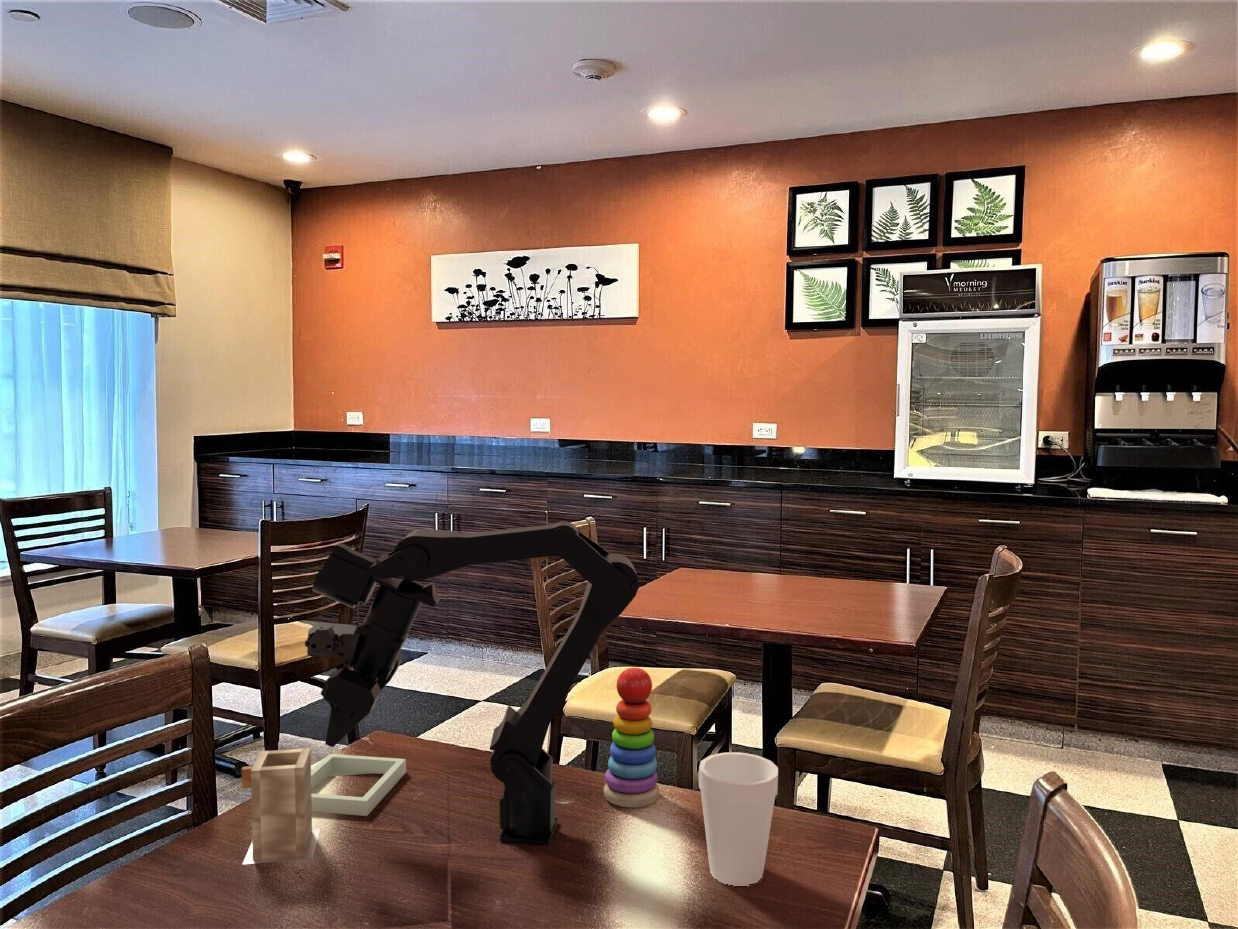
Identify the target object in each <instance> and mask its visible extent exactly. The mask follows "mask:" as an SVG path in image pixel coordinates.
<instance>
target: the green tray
mask: <svg viewBox="0 0 1238 929" xmlns="http://www.w3.org/2000/svg"><path fill="white" fill-rule="evenodd" d="M406 773H407V760H406V758H395V757H383V756H382V757H380V756H365V755H350V754H337V753H336V754H333V753H328V754H327V756H325V757H324V758H323V759H322V760H321V761H320V762H318V763H317V764H316V765H315V766H314V767H313V768H311V791H313V789H314V788H316V786H318V784H319V785H320V783H321V782H322V781H324V779H325V778H326V777H340V776H353V775H356V776H357V775H367V774H368V775H369V774H378V775H379V774H380V775H381V774H382V776H381V778H380V779H378V781H376V783H375V784H373V786H371V788H370V789H369V790H368V791H367V792H366V793H365V794H364V795H363V796H350V795H348V796H347V795H337V794H321V793H312V792H311V800H312V813H323V814H324V813H325V814H338V815H351V816H364V817H367V816H368V815H369V814H370V813H371V812H372V811H373V810H374V809H375V808H376V807H377V806H378V804H379V803H380V802H381V801H382V800H383V799H384V798H385V797H386V795H387V794H388V793H389V792H390V791H391V790H392V789H393V788H394V787H395V785H396V784H397V783H399V781H400V780H401V778H403V776H404V775H405V774H406Z"/></svg>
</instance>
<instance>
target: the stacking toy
mask: <svg viewBox="0 0 1238 929" xmlns="http://www.w3.org/2000/svg"><path fill="white" fill-rule="evenodd" d="M652 690H653V681H652V679H651V676H650V674H649V673H648V672H647V671H646V670H644V669H642V668H640V667H628V668H626V669H625V670H623V671H622V672H621V673H620V674H619V675H618V678H617V680H616V691H617V694H618V696H619V698H621V700H620V701H618V702H617V704H616V706H615V712H616V713H617V715H616V716H615V717H614V718H613V721H612V722H613V727H614V729H613V731H612V733H611V734H612V735H611V738H612V741H613V742H612V743H611V745H610V747H609V753H610V755H611V756H609V759H608V762H607V767H608V769H607V770H606V771H605V775H604V782H605V784H604V785H603V795H604V798H605V799H606V800H607V801H608V802H609V803H611V804H613V805H615V806H617V807H622V808H630V809H631V808H643V807H646V806H647V807H648V806H649V805H650V806H651V805H652V804H653V803H655V802H656V801H657V800H658V798H659V796H660V791H661V790H660V788H659V785H658V784H657V783H658V774H657V772H656V770H657V767H658V761H657V758H656V757H655V756H656V750H657V749H656V746H655V744H654V740H655V734H654V731H653V730H652V726H653V721H652V718H651V717H650V715H651V713H652V705H651V703H650V702H649V701H648V700H647V699H648V698H649V697H650V695H651V693H652Z"/></svg>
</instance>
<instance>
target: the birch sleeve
mask: <svg viewBox="0 0 1238 929" xmlns="http://www.w3.org/2000/svg"><path fill="white" fill-rule="evenodd" d="M311 751H312V749H311V747H310V748H309V747H308V748H297V749H296V748H294V749H293V748H292V749H291V748H290V749H278V750H277V749H276V750H261V751H260V752H259V754H258V757H257V758H256V760H255V762H254V763H253V765H250V766H242V768H241V789H250V790H251V791H250V792H251V793H250V794H251V798H250V799H251V831H252V833H251V835H252V837H251V838H252V840H251V843H253V859H263V858H275V857H287V856H298V855H305V853H306V850H307V847H308V843H309V840H310V837H311V833H312V828H313V818H312V817H313V816H312V813H313V812H312V800H311V793H312V790H311V770H312V760H311V759H312V758H311V756H312V755H311V754H312V752H311Z"/></svg>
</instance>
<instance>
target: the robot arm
mask: <svg viewBox="0 0 1238 929" xmlns="http://www.w3.org/2000/svg"><path fill="white" fill-rule="evenodd" d="M553 556H554V557H555V556H558V557H560V558H561V559H562V560H564V562H566V563H567V564H568V565H569V566H570V567H571V568H572V569H573V570H574V571H575V572H577V573H578V574H579V575H580V576H581V577H582V578H583V579H584V580H585V581H587V584H586V586H585V590H584V594H583V597H582V600H581V603H580V606H579V610H578V613H577V614H576V616H575V618H574V619H573V621H572V623H571V624H570V626H569V628H568V630H567V631H566V633H565V635H564V637H563V638H562V640H561V642H560V644H559V646H558V647H557V649H556V650H555V652H554V654H553V656H552V657H551V659H550V661H549V663H548V664H547V667H546V668H545V670H544V672H543V673H542V675H541V677H540V678H539V680H538V682H537V683H536V685H535V687H534V689H533V691H532V693H531V694H530V695H529V698H528V699H527V700H526V702H525V703H524V704H523V705H522V706H520V708H519V709H518V710H515V709H514V708H513V707H511V706H510V705H508V706H507V707H506V710H505V713H504V716H503V719H502V721H501V722H500V723H499V724H498V725H497V726H496V727H495V728H494V729H493V732H492V737H491V742H490V745H489V750H490V751H492V752H491V757H490V761H489V766H490V769H491V773H492V774H493V775H494V778H495V779H497V780H498V781H499V782H501V783H503V786H504V787H503V792H502V795H501V796H500V798H499V829H500V830H502V831H501V833H500V835H499V840H500V841H502V842H514V843H516V842H517V843H525V844H526V843H528V844H541V845H548V844H550V842H551V839H552V838H553V834H554V832H555V831H556V828H557V826H558V824H559V818H558V817H556V781H552V777H553V776H552V775H553V762H554V760H553V757H552V755H550V754H549V753H548V752H547V751H546V750H545V749H544V748H543V746H544V744H545V741H546V737H547V733H548V730H549V727H550V724H551V722H552V720H553V718H554V717H555V715H556V713H557V712H558V710H559V709H560V706H561V704H562V703H563V701H564V700H565V698H566V696H567V694H568V693H569V691H570V689H571V688H572V686H573V684H574V682H575V680H576V679H577V677H578V675H579V674H580V672H581V670H582V668H583V666H584V665H585V663H586V661H587V660H588V658H589V656H590V655H591V653H592V652H593V649H594V647H595V646H596V644H597V643H598V641H599V639H600V637H601V636H602V633H603V632H604V631H605V630H606V629H607V628H608V627H609V626H610V625H611V624H612V623H613V622H614V621H615V620H616V619H618V618H619V617H620V615H622V613H623V612H624V611H625V610H626V608H627V607H628V606H629V605H630V604H631V603H632V601H633V600H634V599H635V597H636V596H637V593H638V590H639V587H640V586H639V578H638V576H637V572H636V569H635V567H634V566H635V565H633V563H632V561H631V560H630V559H629V558H628V557H627V556H625V555H623V554H619V553H610V552H609V551H608V550H606V549H605V548H603V546H601V545H600V544H598V543H597V542H595V541H594V540H593V539H592V538H590V537H588V535H585V534H583V533H582V532H581V531H580V530H579V529H578V528H577V527H576V525H575V524H573V523H571V522H569V521H563V520H562V521H558V522H556V523H553V524H545V525H536V526H535V525H533V526H526V527H525V526H524V527H518V528H517V527H516V528H509V529H508V528H506V529H499V530H498V529H497V530H496V529H495V530H491V531H490V530H487V531H480V532H457V531H453V530H447V529H446V530H444V529H428V528H419V529H416V530H412V531H411V532H409V533H408V534H406V535H405V537H403V538H402V539H401V540H400V541H399V542H398V543H397V544H396V546H394V549H393V550H392V551H391V552H388V553H387V552H386V553H383V554H382V555H381V556H380V557H378V559H375V558H373V557H372V556H368V555H366V554H364V553H361V552H359V551H357V550H354V549H353V548H352V547H350V546H349V545H346V544H345V543H342V542H339V543H337V544H335V545H334V546H333V549H332V550H331V552H330V554H329V556H328V557H327V558H326V560H325V562H324V564H323V565H322V567H321V568H319V569H318V572H317V573H316V576H315V578H314V581H313V583H312V584H313V585H312V587H311V590H312V592H314V593H317V594H319V595H321V596H323V597H325V598H328V599H330V600H332V601H336V602H337V603H339V604H342V605H345V606H346V607H349V608H351V609H355V608H356V607H358V606H359V604H363V605H367V603H368V601H370V598H371V597H372V595H373V593H374V590H375V589H376V586H377V584H380V585H379V587H378V589H377V592H376V594H375V596H374V598H373V601H372V603H371V606H370V607H369V610H368V612H367V614H366V616H365V617H364V618H363V620H362V622H361V624H358V625H353V624H347V623H346V624H345V623H332V622H317V623H315V624H313V626H312V627H310V628H309V629H308V632H307V639H306V640H305V641H304V645H305V647H306V648H307V649H306V650H307V651H306V655H307V656H309V657H312V658H317V657H318V656H319V657H320V656H322V657H334V658H335V657H341V660H340V663H341V664H343V665H345V666H348V667H350V669H348V668H346V667H342V668H339V669H336V670H334V671H333V672H332V673H331V675H329V677H327V679H326V680H325V683H324V685H323V687H322V689H321V691H320V695H321V697H322V698H323V700H324V701H326V702H327V704H328V705H329V707H330V713H329V718H328V719H329V720H328V725H327V731H326V735H325V736H326V737H325V743H324V744H325V745H326V746H329V747H330V748H334V747H336V746H337V744H338V743H339V742H341V740H343V738H345V737H346V736H347V735H348V734H349V733H350V732H351V731H352V730H353V729H354V728H355V727H356V726H357V725H358V724H359V723H361V721H362V720H364V719H365V718H366V717H368V716H369V714H370V713H371V711H372V710H373V708H374V707H375V705H376V703H377V701H378V699H379V696H380V695H381V692H382V690H383V689H384V688H385V687H386V686H387V685H388V683H390V681H391V680H392V678H393V677H394V676H395V674H396V673H397V671H398V669H399V667H400V665H401V663H402V661H403V658H404V655H403V654H402V652H401V650H402V648H403V645H404V644H405V642H407V639H408V637H409V635H410V633H409V632H410V630H411V628H412V626H413V624H414V622H415V619H416V616H417V615H418V612H419V610H420V608H421V606H422V604H425V605H427V606H429V607H430V608H434V607H436V606H437V604H438V603H439V601H440V600H441V597H440V595H439V593H438V591H437V590H436V589H437V588H436V583H435V582H434V581H431V582H429V583H426V584H422V583H420V581H421V582H422V581H424V580H428V579H432V578H434V577H438V576H442V575H445V574H447V573H451V572H453V571H456V570H458V569H460V568H465V567H467V566H473V565H483V564H491V563H500V562H508V561H517V560H519V561H520V560H528V559H536V558H546V557H553ZM399 577H402V579H397V578H399Z"/></svg>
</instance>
